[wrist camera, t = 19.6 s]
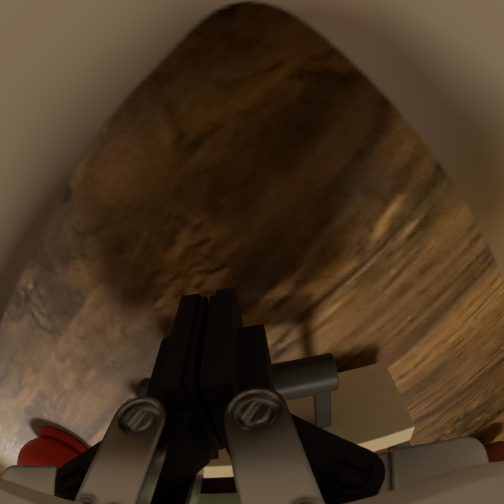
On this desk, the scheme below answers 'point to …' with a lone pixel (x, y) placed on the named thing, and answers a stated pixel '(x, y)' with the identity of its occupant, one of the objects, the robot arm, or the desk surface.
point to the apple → (50, 449)
